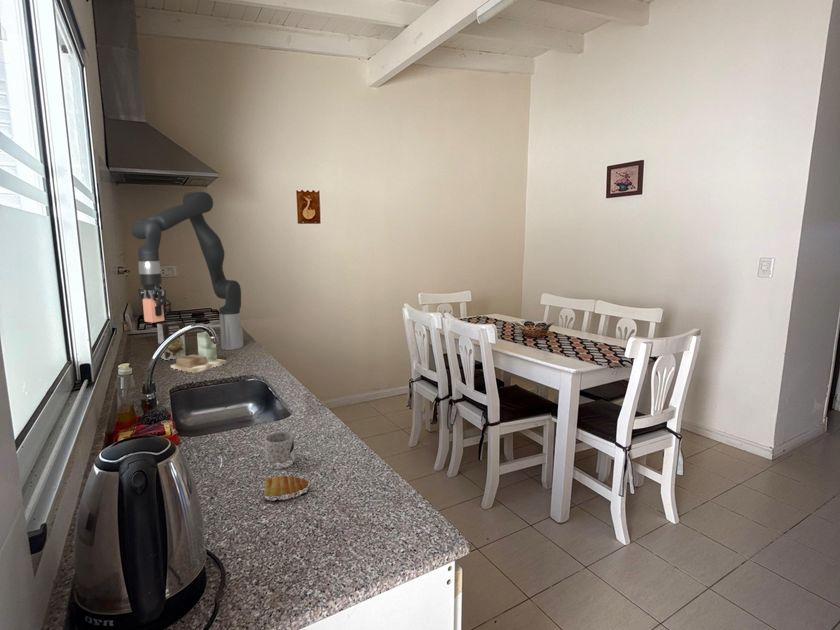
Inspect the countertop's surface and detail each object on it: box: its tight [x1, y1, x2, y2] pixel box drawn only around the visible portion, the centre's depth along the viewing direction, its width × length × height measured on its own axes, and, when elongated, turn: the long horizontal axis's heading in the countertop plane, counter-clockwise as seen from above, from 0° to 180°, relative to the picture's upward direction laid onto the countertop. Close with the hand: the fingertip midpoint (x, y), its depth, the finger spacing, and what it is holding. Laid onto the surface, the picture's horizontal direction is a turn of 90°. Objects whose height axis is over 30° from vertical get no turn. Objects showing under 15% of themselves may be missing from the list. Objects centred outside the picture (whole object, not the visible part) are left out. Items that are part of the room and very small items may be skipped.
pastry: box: [263, 474, 310, 496], centre depth 103 cm, size 9×7×4 cm
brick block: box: [142, 298, 165, 324], centre depth 191 cm, size 5×5×9 cm
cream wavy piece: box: [170, 331, 227, 374], centre depth 201 cm, size 16×14×14 cm
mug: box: [264, 431, 295, 463], centre depth 118 cm, size 10×7×7 cm
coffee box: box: [156, 320, 187, 361], centre depth 214 cm, size 9×6×16 cm
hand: (154, 314), depth 192 cm, fingers closed on brick block, 5 cm apart
